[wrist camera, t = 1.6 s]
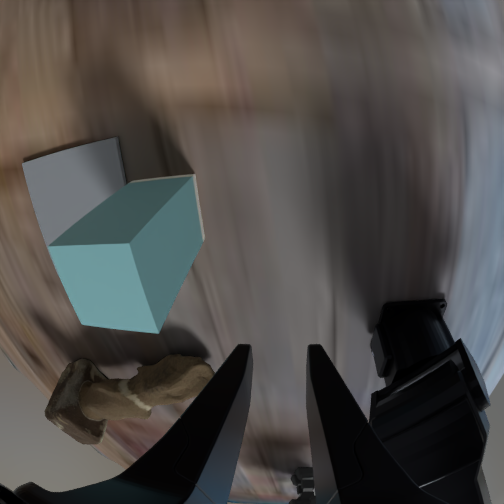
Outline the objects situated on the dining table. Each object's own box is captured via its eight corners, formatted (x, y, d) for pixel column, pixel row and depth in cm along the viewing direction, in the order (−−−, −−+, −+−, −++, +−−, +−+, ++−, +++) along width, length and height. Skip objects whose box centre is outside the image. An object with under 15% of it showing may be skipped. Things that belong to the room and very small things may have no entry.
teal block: (195, 173, 20) (129, 243, 11) (205, 238, 23) (158, 333, 14) (132, 180, 21) (47, 246, 12) (145, 240, 23) (82, 324, 15)
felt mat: (117, 136, 19) (115, 137, 19) (150, 276, 25) (148, 279, 25) (24, 162, 20) (22, 163, 20) (60, 274, 26) (58, 276, 26)
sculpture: (190, 327, 42) (232, 390, 29) (82, 406, 36) (89, 482, 23) (160, 289, 38) (191, 346, 25) (47, 376, 33) (39, 452, 20)
